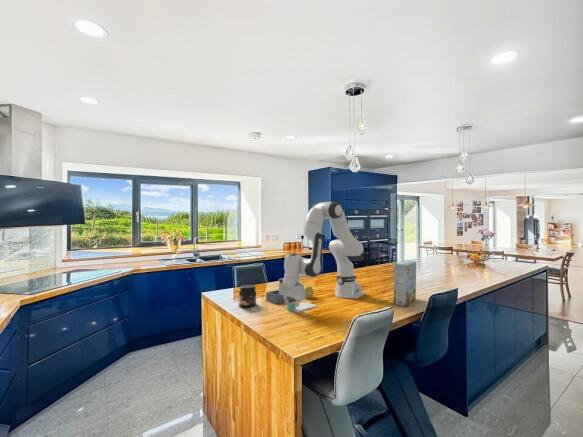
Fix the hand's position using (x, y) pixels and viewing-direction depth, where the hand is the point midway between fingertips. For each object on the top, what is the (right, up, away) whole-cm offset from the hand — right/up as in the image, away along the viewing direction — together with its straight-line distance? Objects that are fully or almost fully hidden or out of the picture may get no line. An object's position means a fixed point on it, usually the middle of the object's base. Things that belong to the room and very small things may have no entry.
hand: (291, 304), depth 169 cm
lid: (+6, -3, +5) cm, 8 cm away
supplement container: (-27, -3, +8) cm, 28 cm away
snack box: (+73, -3, +16) cm, 75 cm away
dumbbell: (+6, -4, +31) cm, 32 cm away
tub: (-7, -3, +19) cm, 20 cm away
